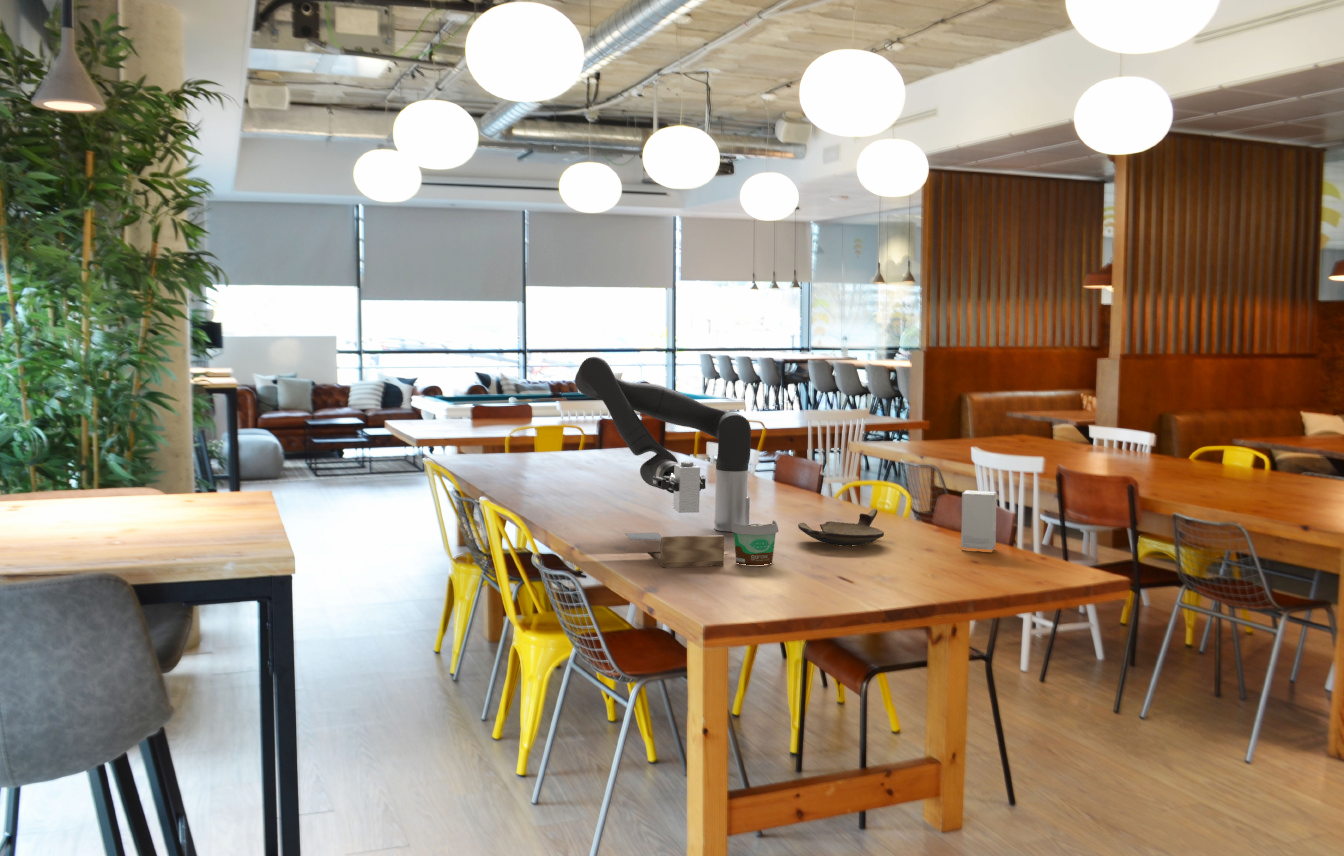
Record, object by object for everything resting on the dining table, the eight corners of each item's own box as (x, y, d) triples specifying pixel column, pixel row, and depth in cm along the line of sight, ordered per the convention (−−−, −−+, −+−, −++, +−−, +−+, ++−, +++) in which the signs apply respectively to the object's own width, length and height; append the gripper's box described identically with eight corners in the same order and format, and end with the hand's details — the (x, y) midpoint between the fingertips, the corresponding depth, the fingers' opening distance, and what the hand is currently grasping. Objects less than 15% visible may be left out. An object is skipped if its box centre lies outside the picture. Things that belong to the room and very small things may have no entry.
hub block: (692, 508, 260) (694, 461, 259) (699, 512, 254) (700, 464, 253) (673, 508, 259) (674, 461, 258) (678, 512, 253) (680, 464, 252)
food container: (744, 569, 249) (745, 527, 248) (730, 564, 254) (731, 523, 253) (787, 565, 254) (788, 524, 253) (773, 560, 260) (774, 520, 259)
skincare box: (995, 549, 278) (998, 491, 276) (992, 554, 272) (995, 494, 270) (963, 546, 281) (966, 489, 280) (959, 550, 275) (961, 492, 274)
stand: (657, 538, 285) (657, 532, 284) (664, 544, 276) (664, 538, 276) (624, 538, 282) (624, 533, 282) (631, 545, 274) (631, 539, 274)
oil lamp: (778, 541, 284) (779, 513, 283) (865, 532, 299) (866, 506, 298) (830, 557, 265) (831, 527, 264) (919, 547, 280) (920, 518, 279)
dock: (703, 549, 271) (703, 521, 270) (723, 565, 252) (724, 536, 251) (646, 551, 267) (646, 523, 266) (662, 567, 249) (663, 537, 248)
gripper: (645, 462, 269) (659, 472, 252) (699, 462, 272) (717, 471, 256) (645, 491, 270) (659, 502, 253) (699, 490, 273) (716, 501, 256)
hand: (688, 487), depth 254 cm, fingers closed on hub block, 5 cm apart
